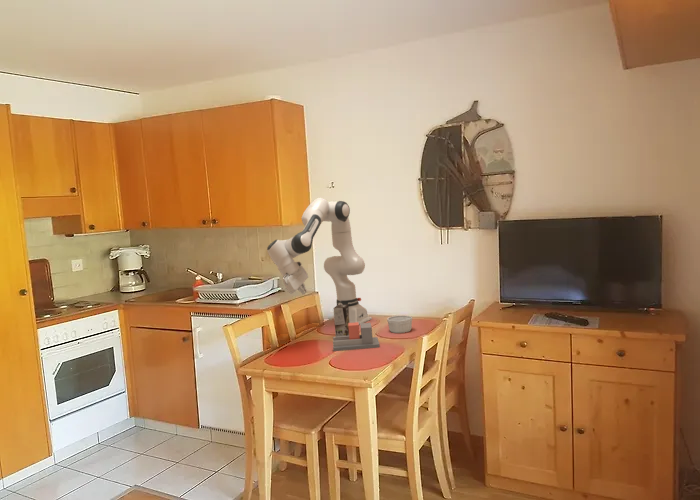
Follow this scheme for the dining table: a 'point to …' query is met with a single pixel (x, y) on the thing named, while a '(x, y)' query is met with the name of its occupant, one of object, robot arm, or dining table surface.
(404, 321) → the ramekin
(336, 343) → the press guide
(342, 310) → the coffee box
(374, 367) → the dining table surface
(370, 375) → the dining table surface
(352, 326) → the red upright block
